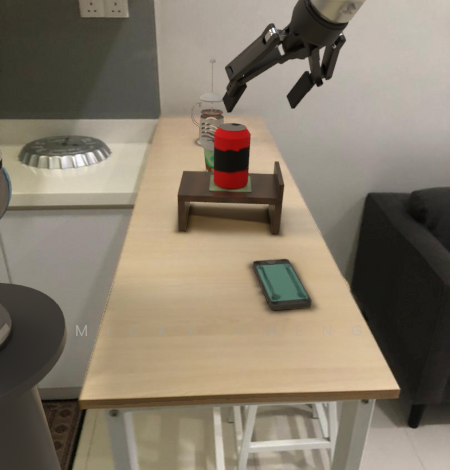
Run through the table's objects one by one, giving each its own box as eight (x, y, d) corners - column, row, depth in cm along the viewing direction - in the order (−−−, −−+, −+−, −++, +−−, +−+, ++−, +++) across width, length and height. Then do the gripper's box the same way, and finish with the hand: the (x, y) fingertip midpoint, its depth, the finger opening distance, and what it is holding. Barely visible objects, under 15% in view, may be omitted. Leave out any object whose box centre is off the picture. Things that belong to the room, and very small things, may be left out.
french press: (223, 148, 149) (225, 61, 134) (188, 145, 150) (186, 59, 136) (228, 139, 157) (231, 56, 142) (195, 136, 158) (194, 54, 144)
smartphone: (287, 257, 91) (312, 301, 79) (287, 263, 92) (311, 307, 80) (251, 260, 90) (271, 305, 78) (251, 265, 91) (270, 311, 79)
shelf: (178, 231, 101) (176, 180, 95) (183, 204, 113) (182, 157, 106) (278, 234, 102) (284, 184, 95) (274, 207, 113) (278, 161, 106)
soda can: (251, 179, 104) (255, 124, 97) (242, 191, 98) (245, 134, 91) (219, 174, 106) (220, 120, 99) (208, 186, 100) (209, 129, 93)
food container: (199, 180, 126) (199, 143, 120) (200, 172, 131) (200, 136, 125) (244, 182, 126) (246, 145, 120) (244, 174, 131) (246, 138, 125)
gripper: (262, 24, 57) (204, 127, 76) (402, 29, 69) (321, 118, 87) (242, -27, 59) (189, 87, 77) (383, -13, 70) (307, 83, 88)
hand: (259, 104), depth 82 cm, fingers open, 13 cm apart
